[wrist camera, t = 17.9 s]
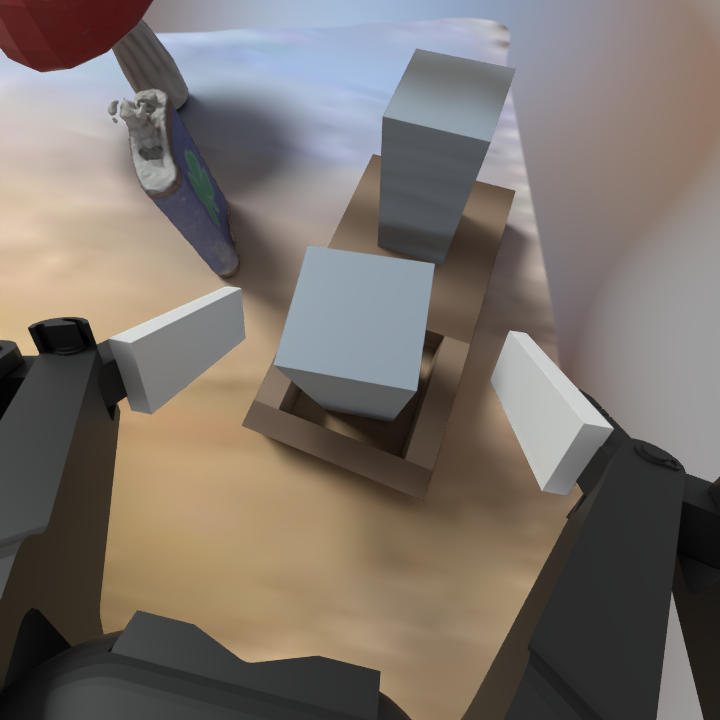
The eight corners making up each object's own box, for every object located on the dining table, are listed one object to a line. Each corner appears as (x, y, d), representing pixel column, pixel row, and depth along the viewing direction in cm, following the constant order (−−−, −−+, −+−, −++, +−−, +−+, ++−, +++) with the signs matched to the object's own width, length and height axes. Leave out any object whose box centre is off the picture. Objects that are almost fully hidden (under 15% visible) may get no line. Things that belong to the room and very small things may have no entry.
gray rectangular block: (391, 422, 21) (417, 391, 10) (324, 409, 22) (273, 364, 10) (401, 357, 23) (434, 263, 11) (338, 346, 23) (307, 245, 12)
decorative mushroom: (225, 165, 29) (82, -115, 15) (68, 171, 29) (-222, -94, 15) (241, 58, 34) (144, -234, 19) (105, 65, 34) (-89, -215, 20)
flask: (244, 274, 25) (157, 155, 15) (210, 283, 25) (99, 169, 15) (228, 194, 28) (145, 45, 18) (197, 201, 28) (96, 56, 18)
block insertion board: (416, 493, 20) (480, 555, 8) (258, 428, 21) (129, 405, 10) (499, 219, 26) (602, 38, 15) (372, 184, 28) (374, -4, 16)
